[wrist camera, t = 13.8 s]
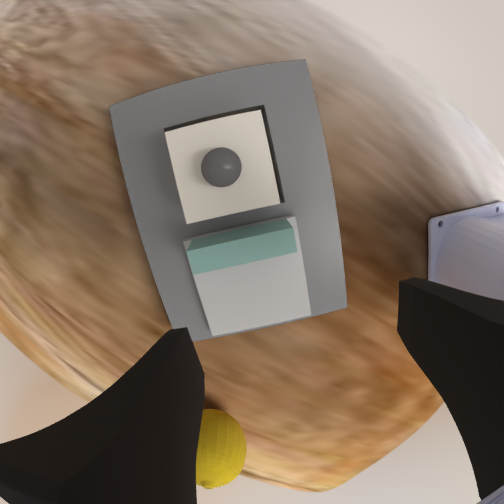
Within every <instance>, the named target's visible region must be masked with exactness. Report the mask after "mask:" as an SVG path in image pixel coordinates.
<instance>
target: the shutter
mask: <svg viewBox="0 0 504 504" xmlns="http://www.w3.org/2000/svg"><path fill="white" fill-rule="evenodd" d="M183 243H184V246H185V250H186V253H187V257H188V260H189V263H190V267H191V270H192V273H193V277H194V280H195V283H196V286H197V290H198V293H199V296H200V299H201V302H202V305H203V308H204V311H205V315H206V318H207V321H208V324H209V327H210V330H211V333H212V335H213V336H216V335H222V334H227V333H232V332H237V331H242V330H247V329H252V328H257V327H261V326H266V325H271V324H275V323H280V322H284V321H288V320H293V319H297V318H301V317H305V316H309V315H311V309H310V302H309V296H308V289H307V282H306V276H305V270H304V264H303V257H302V251H301V246H300V240H299V234H298V228H297V223H296V217H295V216H294V215H288V216H284V217H279V218H274V219H270V220H265V221H261V222H256V223H252V224H247V225H243V226H238V227H234V228H229V229H225V230H221V231H216V232H212V233H208V234H203V235H199V236H195V237H191V238H186V239H185V240H184V241H183Z"/></svg>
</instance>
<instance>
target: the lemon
mask: <svg viewBox="0 0 504 504" xmlns="http://www.w3.org/2000/svg"><path fill="white" fill-rule="evenodd" d="M245 456H246V440H245V436H244V433H243V430H242V428H241V426H240V425H239V423H238V422H237V421H236V420H235V419H234V418H233V417H232V416H230V415H229V414H227V413H225V412H223V411H220V410H216V409H203V413H202V420H201V427H200V434H199V442H198V449H197V459H196V484H197V485H200V486H203V487H204V488H205V489H212V488H214V487H220V486H222V485H225V484H228V483H229V482H231V481H232V480H234V479H235V478H236V477H237V476H238V474H239V473H240V472H241V470H242V468H243V465H244V461H245Z"/></svg>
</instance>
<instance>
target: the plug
mask: <svg viewBox="0 0 504 504" xmlns="http://www.w3.org/2000/svg"><path fill="white" fill-rule="evenodd" d="M165 136H166V141H167V145H168V150H169V154H170V158H171V163H172V167H173V171H174V175H175V180H176V184H177V188H178V192H179V196H180V200H181V204H182V208H183V212H184V215H185V219H186V223H187V224H190V223H194V222H199V221H203V220H207V219H212V218H216V217H220V216H225V215H229V214H234V213H238V212H243V211H247V210H252V209H257V208H261V207H266V206H271V205H276V204H280V199H279V194H278V189H277V184H276V179H275V174H274V169H273V164H272V159H271V155H270V150H269V145H268V140H267V136H266V131H265V127H264V122H263V118H262V113H261V110H257V111H251V112H246V113H241V114H236V115H232V116H227V117H222V118H218V119H214V120H209V121H205V122H201V123H197V124H193V125H189V126H186V127H182V128H178V129H175V130H171V131H168V132H165Z"/></svg>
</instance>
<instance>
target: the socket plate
mask: <svg viewBox="0 0 504 504" xmlns="http://www.w3.org/2000/svg"><path fill="white" fill-rule="evenodd" d="M109 108H110V114H111V119H112V124H113V130H114V134H115V139H116V144H117V149H118V153H119V157H120V162H121V166H122V170H123V174H124V178H125V182H126V186H127V190H128V194H129V198H130V201H131V205H132V209H133V212H134V216H135V219H136V223H137V226H138V230H139V233H140V236H141V239H142V243H143V246H144V249H145V252H146V255H147V258H148V261H149V265H150V268H151V271H152V273H153V276H154V279H155V282H156V285H157V288H158V291H159V294H160V296H161V299H162V302H163V304H164V307H165V310H166V313H167V315H168V318H169V320H170V323H171V326H172V328H173V329H178V328H184V327H187V328H188V331H189V334H190V336H191V339H192V342H193V341H199V340H205V339H210V338H216V337H221V336H227V335H232V334H237V333H242V332H247V331H252V330H257V329H261V328H266V327H271V326H275V325H280V324H284V323H288V322H293V321H297V320H301V319H305V318H309V317H313V316H317V315H321V314H325V313H329V312H333V311H337V310H341V309H344V308H347V295H346V284H345V273H344V263H343V254H342V246H341V238H340V230H339V222H338V215H337V208H336V202H335V195H334V189H333V183H332V177H331V171H330V166H329V160H328V155H327V149H326V144H325V139H324V134H323V130H322V125H321V120H320V116H319V111H318V107H317V102H316V98H315V94H314V90H313V86H312V82H311V78H310V74H309V70H308V66H307V63H306V59H302V60H293V61H284V62H276V63H269V64H263V65H256V66H250V67H245V68H239V69H234V70H229V71H224V72H220V73H215V74H211V75H207V76H203V77H199V78H195V79H191V80H187V81H183V82H180V83H176V84H173V85H169V86H166V87H163V88H160V89H156V90H153V91H150V92H147V93H144V94H141V95H138V96H136V97H133V98H130V99H127V100H125V101H122V102H119V103H117V104H114V105H112V106H109ZM257 110H261V112H262V117H263V121H264V126H265V130H266V135H267V139H268V144H269V148H270V153H271V158H272V162H273V167H274V172H275V177H276V181H277V186H278V191H279V196H280V198H279V199H280V204H276V205H271V206H266V207H261V208H257V209H252V210H247V211H243V212H238V213H234V214H229V215H225V216H220V217H216V218H212V219H207V220H203V221H199V222H194V223H190V224H187V223H186V219H185V215H184V212H183V208H182V204H181V200H180V196H179V192H178V188H177V184H176V180H175V175H174V171H173V167H172V163H171V158H170V154H169V150H168V145H167V141H166V136H165V132H168V131H171V130H175V129H178V128H182V127H186V126H189V125H193V124H197V123H201V122H205V121H209V120H214V119H218V118H222V117H227V116H232V115H236V114H241V113H246V112H251V111H257ZM288 215H294V216H295V217H296V223H297V228H298V234H299V240H300V246H301V251H302V257H303V264H304V270H305V276H306V282H307V289H308V296H309V302H310V309H311V315H309V316H305V317H301V318H297V319H293V320H288V321H284V322H280V323H275V324H271V325H266V326H261V327H257V328H252V329H247V330H242V331H237V332H232V333H227V334H222V335H216V336H213V335H212V333H211V330H210V327H209V324H208V321H207V318H206V315H205V311H204V308H203V305H202V302H201V299H200V296H199V293H198V290H197V286H196V283H195V280H194V277H193V273H192V270H191V267H190V263H189V260H188V257H187V253H186V250H185V246H184V243H183V241H184V240H185V239H186V238H191V237H195V236H199V235H203V234H208V233H212V232H216V231H221V230H225V229H229V228H234V227H238V226H243V225H247V224H252V223H256V222H261V221H265V220H270V219H274V218H279V217H284V216H288Z"/></svg>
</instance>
